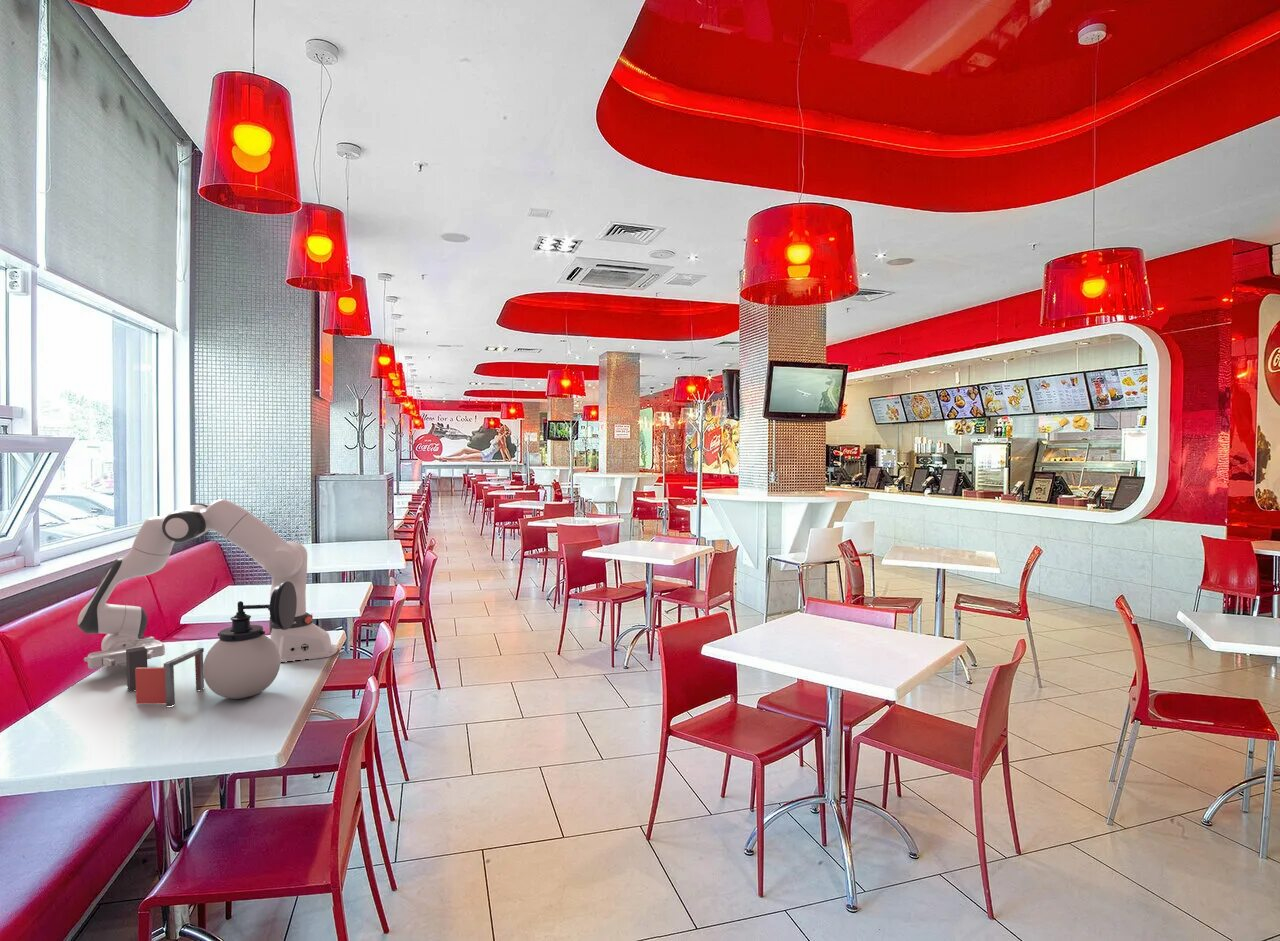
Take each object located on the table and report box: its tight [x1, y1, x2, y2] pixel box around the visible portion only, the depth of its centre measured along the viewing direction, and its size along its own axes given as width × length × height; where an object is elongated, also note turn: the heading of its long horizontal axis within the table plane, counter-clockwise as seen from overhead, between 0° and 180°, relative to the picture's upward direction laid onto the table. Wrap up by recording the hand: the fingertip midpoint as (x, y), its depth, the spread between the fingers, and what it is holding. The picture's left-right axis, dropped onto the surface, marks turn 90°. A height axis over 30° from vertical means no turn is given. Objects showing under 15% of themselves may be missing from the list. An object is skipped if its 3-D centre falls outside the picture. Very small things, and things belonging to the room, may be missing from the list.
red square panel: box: [135, 666, 166, 705], centre depth 204 cm, size 10×1×10 cm, turn 89°
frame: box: [163, 647, 205, 707], centre depth 209 cm, size 16×2×12 cm, turn 179°
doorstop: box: [126, 646, 148, 692], centre depth 218 cm, size 4×4×12 cm
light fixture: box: [203, 581, 297, 700], centre depth 210 cm, size 20×23×33 cm
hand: (130, 659), depth 226 cm, fingers open, 8 cm apart
